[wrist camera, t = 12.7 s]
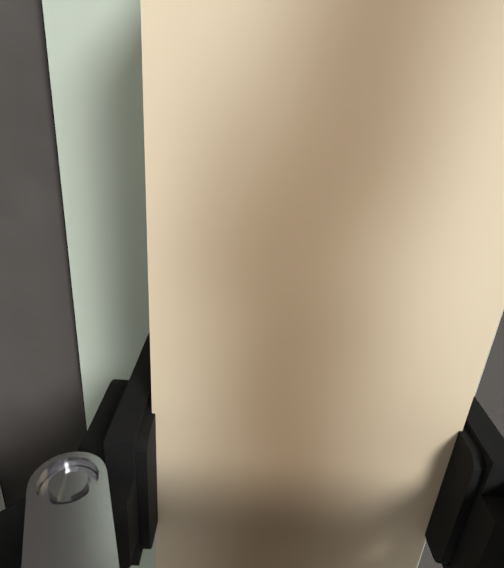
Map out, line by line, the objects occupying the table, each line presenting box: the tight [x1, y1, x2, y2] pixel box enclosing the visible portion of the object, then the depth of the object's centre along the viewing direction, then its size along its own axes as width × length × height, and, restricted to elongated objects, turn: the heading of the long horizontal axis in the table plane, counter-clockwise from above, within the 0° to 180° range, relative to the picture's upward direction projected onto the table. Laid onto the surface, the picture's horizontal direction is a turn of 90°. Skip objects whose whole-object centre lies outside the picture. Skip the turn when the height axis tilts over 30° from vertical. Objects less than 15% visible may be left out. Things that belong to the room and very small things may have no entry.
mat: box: [42, 0, 504, 568], centre depth 13 cm, size 12×26×1 cm, turn 176°
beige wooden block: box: [140, 0, 504, 568], centre depth 11 cm, size 6×20×3 cm, turn 176°
